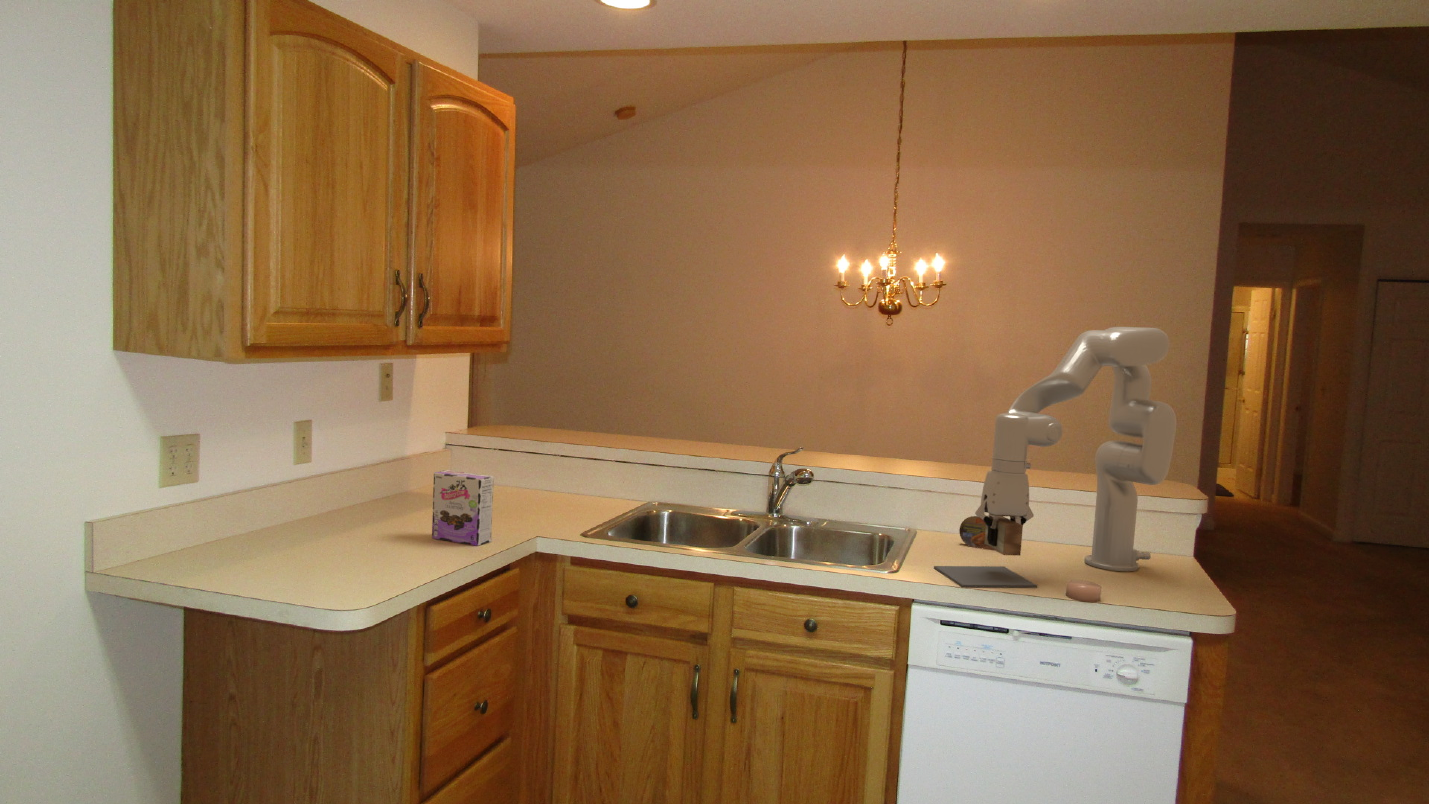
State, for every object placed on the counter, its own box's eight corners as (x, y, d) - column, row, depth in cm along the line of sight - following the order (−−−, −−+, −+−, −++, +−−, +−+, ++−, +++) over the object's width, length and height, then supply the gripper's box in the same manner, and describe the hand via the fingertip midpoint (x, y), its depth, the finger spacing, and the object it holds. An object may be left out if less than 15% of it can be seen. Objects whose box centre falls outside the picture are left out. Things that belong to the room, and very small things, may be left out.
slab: (999, 545, 221) (1002, 516, 220) (1020, 555, 211) (1022, 525, 210) (983, 544, 220) (986, 515, 219) (1003, 555, 210) (1006, 524, 210)
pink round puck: (1089, 593, 207) (1090, 580, 207) (1106, 602, 200) (1107, 589, 200) (1059, 593, 206) (1060, 579, 206) (1076, 602, 199) (1077, 588, 199)
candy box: (430, 538, 225) (432, 471, 224) (446, 534, 231) (448, 468, 230) (477, 546, 220) (479, 478, 219) (492, 541, 226) (494, 474, 224)
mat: (1003, 568, 225) (1004, 566, 225) (1037, 587, 209) (1037, 585, 209) (933, 568, 222) (933, 565, 222) (962, 587, 206) (962, 584, 206)
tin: (957, 545, 248) (960, 514, 248) (960, 543, 251) (962, 512, 251) (1015, 554, 242) (1018, 522, 241) (1018, 551, 244) (1020, 520, 244)
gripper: (1034, 465, 219) (1027, 542, 220) (967, 463, 216) (961, 540, 218) (1050, 470, 212) (1043, 549, 213) (981, 468, 209) (975, 548, 210)
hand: (1002, 544), depth 215 cm, fingers closed on slab, 4 cm apart
